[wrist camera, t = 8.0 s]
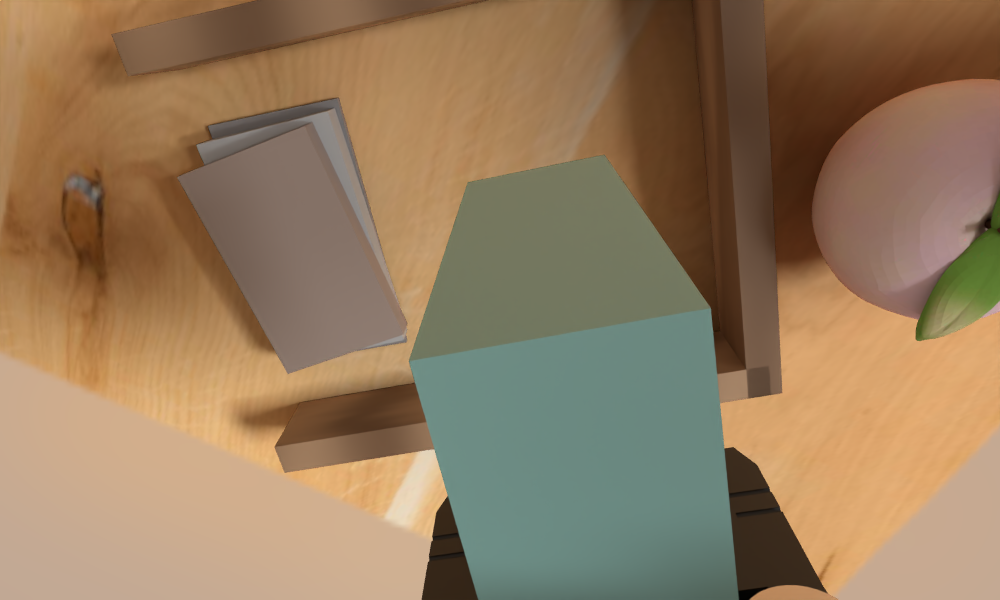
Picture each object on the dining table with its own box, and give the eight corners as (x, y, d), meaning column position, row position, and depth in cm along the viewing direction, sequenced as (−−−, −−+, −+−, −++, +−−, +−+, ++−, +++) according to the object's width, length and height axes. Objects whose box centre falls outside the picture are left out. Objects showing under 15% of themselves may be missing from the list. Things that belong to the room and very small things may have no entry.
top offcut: (312, 121, 28) (304, 126, 27) (407, 323, 31) (403, 334, 30) (189, 171, 29) (176, 177, 28) (295, 361, 32) (288, 373, 31)
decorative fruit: (805, 56, 28) (948, 71, 19) (994, 76, 28) (1229, 101, 19) (750, 264, 32) (848, 363, 22) (919, 281, 32) (1085, 386, 22)
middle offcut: (334, 107, 29) (327, 111, 28) (407, 329, 33) (403, 340, 32) (208, 140, 29) (196, 144, 28) (294, 353, 34) (287, 365, 32)
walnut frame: (722, -96, 26) (757, -116, 22) (752, 352, 33) (782, 393, 30) (164, 33, 28) (111, 34, 24) (308, 426, 35) (284, 472, 32)
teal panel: (604, 154, 12) (709, 308, 5) (666, 578, 15) (774, 975, 9) (468, 182, 12) (407, 360, 6) (561, 592, 16) (591, 989, 9)
